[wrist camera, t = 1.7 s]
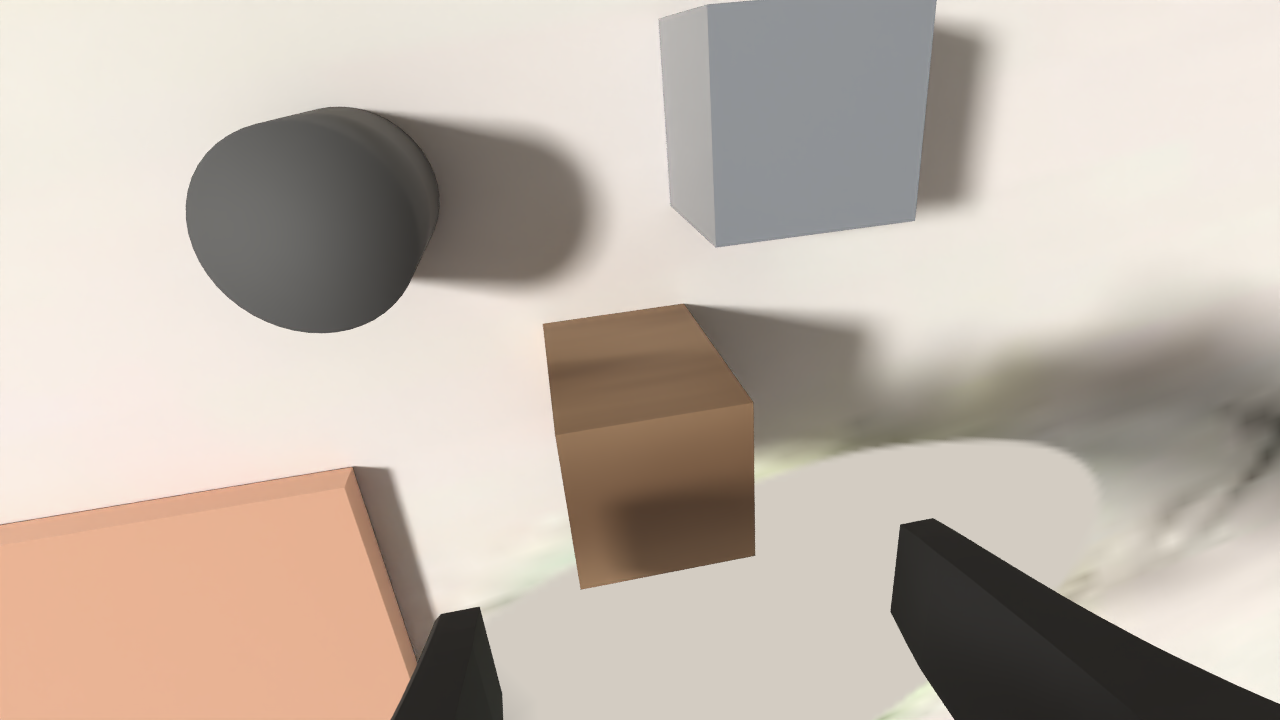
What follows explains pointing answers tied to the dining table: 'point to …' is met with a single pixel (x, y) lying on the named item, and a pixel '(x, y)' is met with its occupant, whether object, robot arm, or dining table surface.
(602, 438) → the walnut block
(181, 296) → the dining table surface
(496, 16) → the dining table surface
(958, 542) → the robot arm
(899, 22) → the grey cube
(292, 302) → the rubber cylinder
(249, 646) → the terracotta tile
